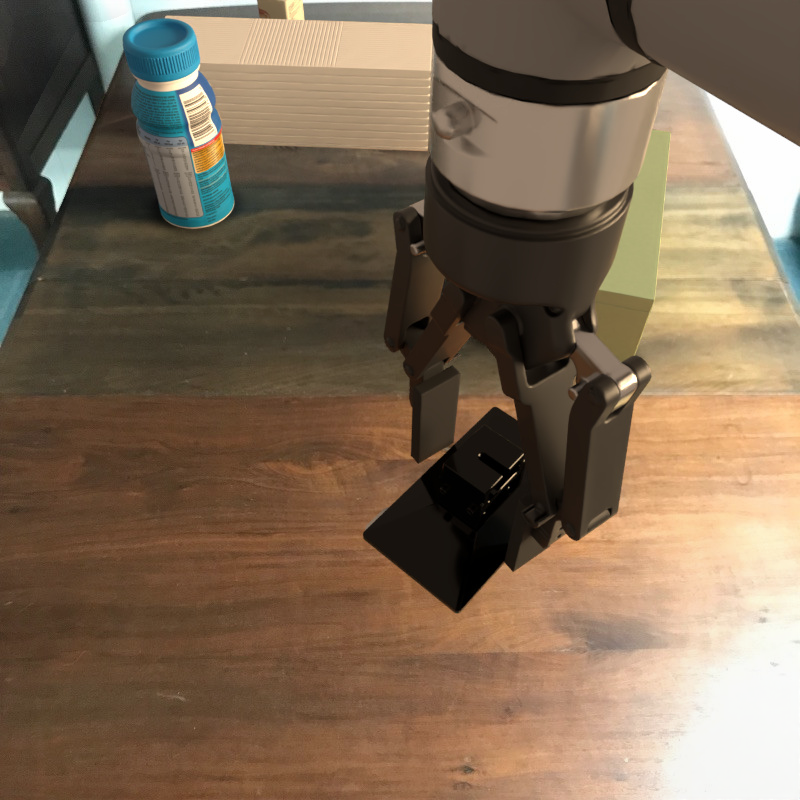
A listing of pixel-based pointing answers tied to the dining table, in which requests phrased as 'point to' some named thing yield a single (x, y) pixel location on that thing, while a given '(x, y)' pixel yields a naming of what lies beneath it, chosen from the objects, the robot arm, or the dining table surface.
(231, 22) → the beige ridged block
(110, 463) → the dining table surface
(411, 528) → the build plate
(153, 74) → the beverage bottle
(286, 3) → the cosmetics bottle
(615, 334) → the olive green box
